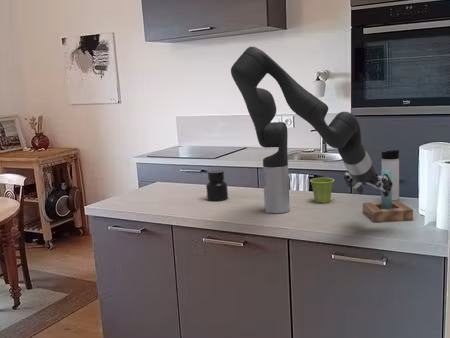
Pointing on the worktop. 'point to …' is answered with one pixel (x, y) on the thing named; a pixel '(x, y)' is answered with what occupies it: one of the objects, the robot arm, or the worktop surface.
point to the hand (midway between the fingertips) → (374, 193)
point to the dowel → (387, 201)
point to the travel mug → (392, 163)
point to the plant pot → (322, 189)
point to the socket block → (387, 212)
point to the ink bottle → (216, 186)
